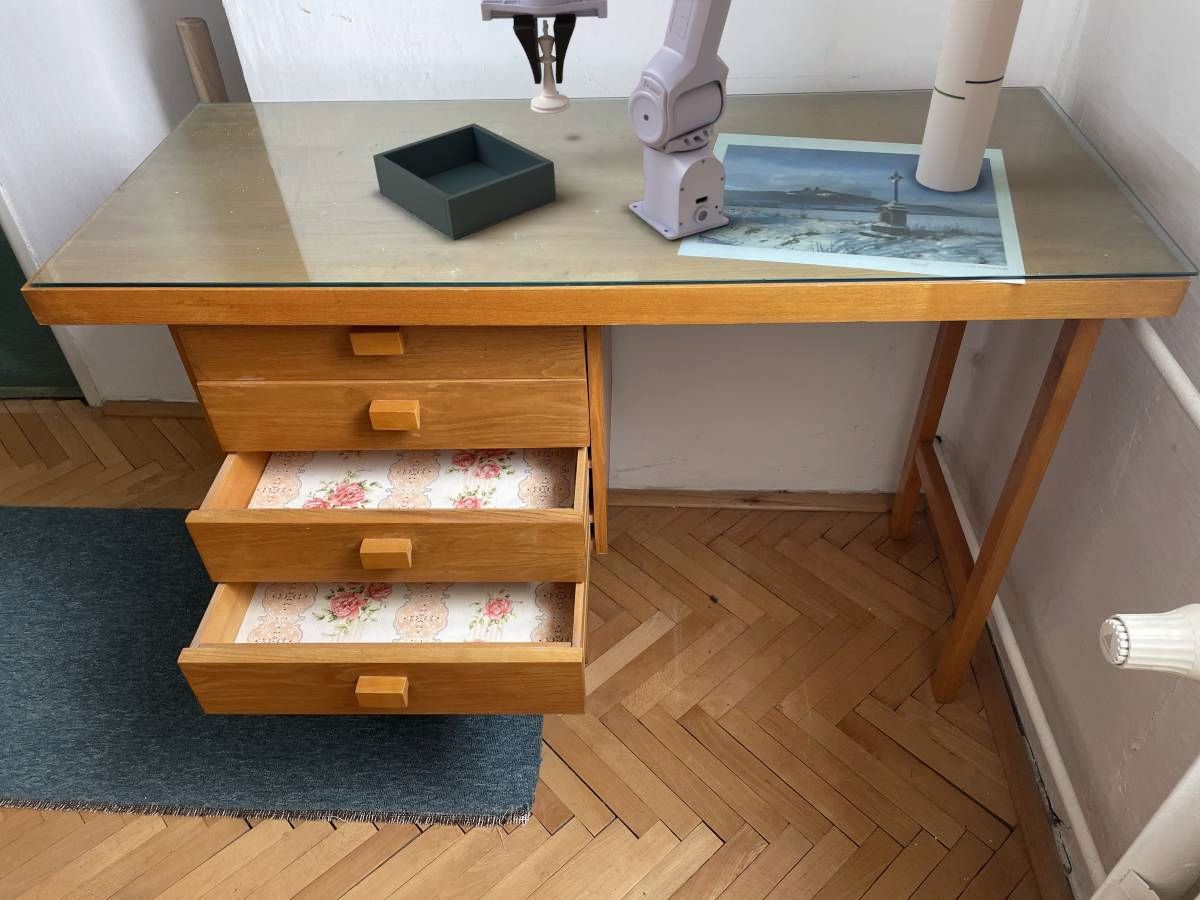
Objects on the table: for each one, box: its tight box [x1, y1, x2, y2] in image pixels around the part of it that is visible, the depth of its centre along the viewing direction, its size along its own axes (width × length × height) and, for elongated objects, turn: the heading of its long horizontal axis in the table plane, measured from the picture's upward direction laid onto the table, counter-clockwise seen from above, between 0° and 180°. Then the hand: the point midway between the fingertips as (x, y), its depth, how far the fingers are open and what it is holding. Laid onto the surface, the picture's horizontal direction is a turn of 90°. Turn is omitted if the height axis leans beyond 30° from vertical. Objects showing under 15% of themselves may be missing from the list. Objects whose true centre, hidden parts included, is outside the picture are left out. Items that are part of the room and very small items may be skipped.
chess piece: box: [530, 19, 571, 115], centre depth 110 cm, size 5×5×10 cm
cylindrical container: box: [915, 0, 1025, 193], centre depth 103 cm, size 7×7×25 cm
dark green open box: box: [372, 122, 557, 241], centre depth 109 cm, size 17×15×5 cm
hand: (549, 81), depth 111 cm, fingers closed on chess piece
